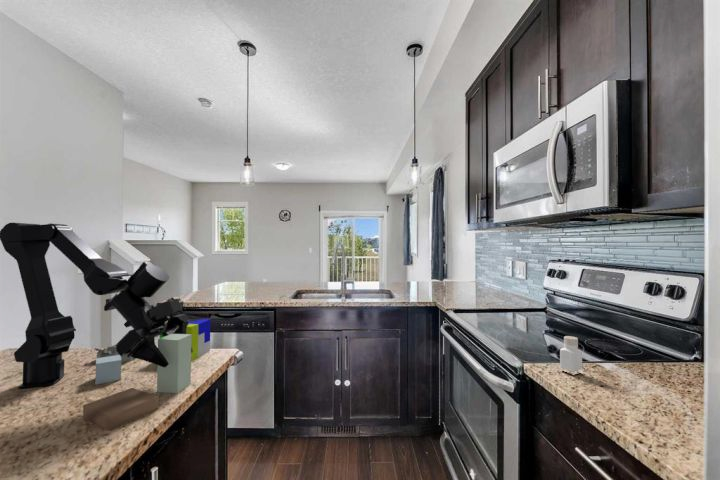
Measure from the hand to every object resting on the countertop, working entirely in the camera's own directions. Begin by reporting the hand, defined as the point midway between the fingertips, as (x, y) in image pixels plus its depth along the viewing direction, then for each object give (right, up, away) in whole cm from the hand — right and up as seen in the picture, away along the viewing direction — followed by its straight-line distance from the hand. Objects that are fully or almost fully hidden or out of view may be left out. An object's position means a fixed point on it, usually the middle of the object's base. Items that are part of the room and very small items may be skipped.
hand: (179, 358), depth 79 cm
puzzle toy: (-11, -8, +24) cm, 28 cm away
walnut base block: (-5, -7, -12) cm, 15 cm away
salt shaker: (+100, -8, +12) cm, 101 cm away
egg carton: (-29, -7, +21) cm, 36 cm away
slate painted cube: (-21, -7, +5) cm, 22 cm away
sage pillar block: (-1, -7, 0) cm, 7 cm away
